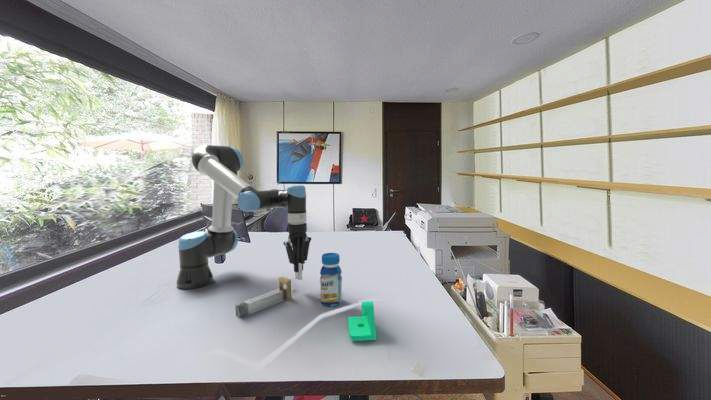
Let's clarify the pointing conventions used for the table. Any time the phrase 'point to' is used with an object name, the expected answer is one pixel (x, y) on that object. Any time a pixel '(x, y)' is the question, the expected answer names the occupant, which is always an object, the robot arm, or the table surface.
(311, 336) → the table surface
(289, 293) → the brushed brass block
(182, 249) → the robot arm
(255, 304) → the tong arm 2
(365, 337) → the camera mount
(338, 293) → the beverage bottle
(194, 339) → the table surface
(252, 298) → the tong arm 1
